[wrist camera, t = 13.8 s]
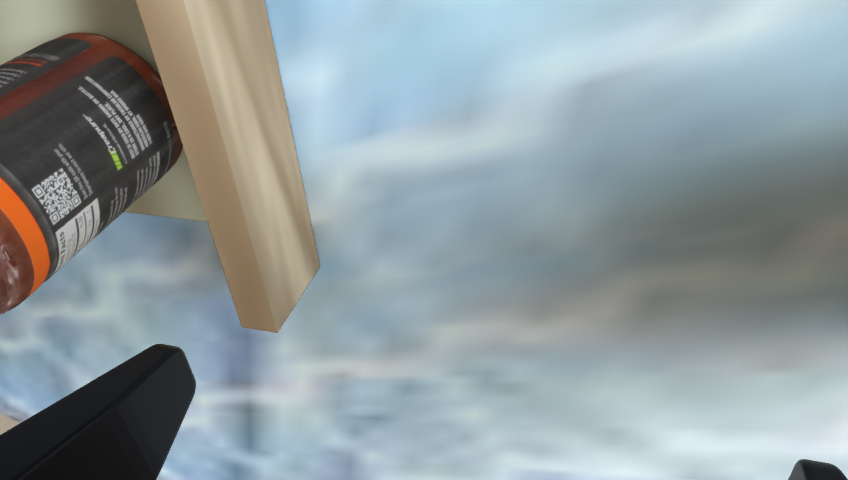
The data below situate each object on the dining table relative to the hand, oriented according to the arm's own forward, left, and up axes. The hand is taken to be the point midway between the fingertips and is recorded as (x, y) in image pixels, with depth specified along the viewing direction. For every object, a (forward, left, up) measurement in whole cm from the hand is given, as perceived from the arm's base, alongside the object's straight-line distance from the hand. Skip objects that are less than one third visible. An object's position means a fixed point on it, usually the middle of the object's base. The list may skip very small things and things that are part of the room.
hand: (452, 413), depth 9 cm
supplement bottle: (+13, +9, -13) cm, 21 cm away
